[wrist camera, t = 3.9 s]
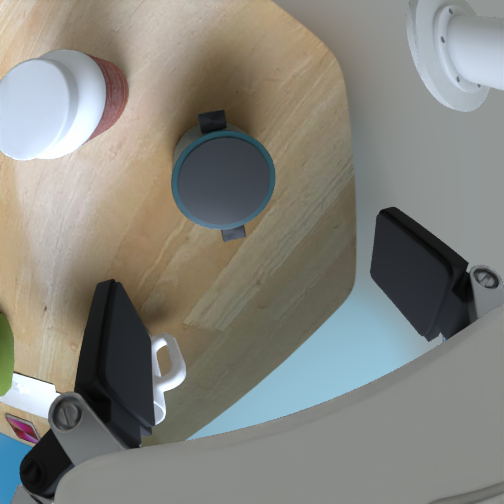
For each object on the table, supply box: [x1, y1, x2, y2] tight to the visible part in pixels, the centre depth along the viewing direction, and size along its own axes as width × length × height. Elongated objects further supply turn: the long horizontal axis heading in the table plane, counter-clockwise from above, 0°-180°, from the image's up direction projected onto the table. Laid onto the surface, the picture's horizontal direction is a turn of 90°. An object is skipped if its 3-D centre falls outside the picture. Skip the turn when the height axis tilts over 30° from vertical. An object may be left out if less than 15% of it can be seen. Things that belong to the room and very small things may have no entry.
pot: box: [171, 109, 275, 242], centre depth 20 cm, size 7×9×6 cm
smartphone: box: [5, 414, 40, 444], centre depth 39 cm, size 7×1×15 cm
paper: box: [0, 373, 60, 418], centre depth 33 cm, size 25×17×1 cm
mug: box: [147, 331, 186, 425], centre depth 26 cm, size 11×8×10 cm
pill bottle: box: [0, 49, 129, 160], centre depth 12 cm, size 6×6×11 cm
